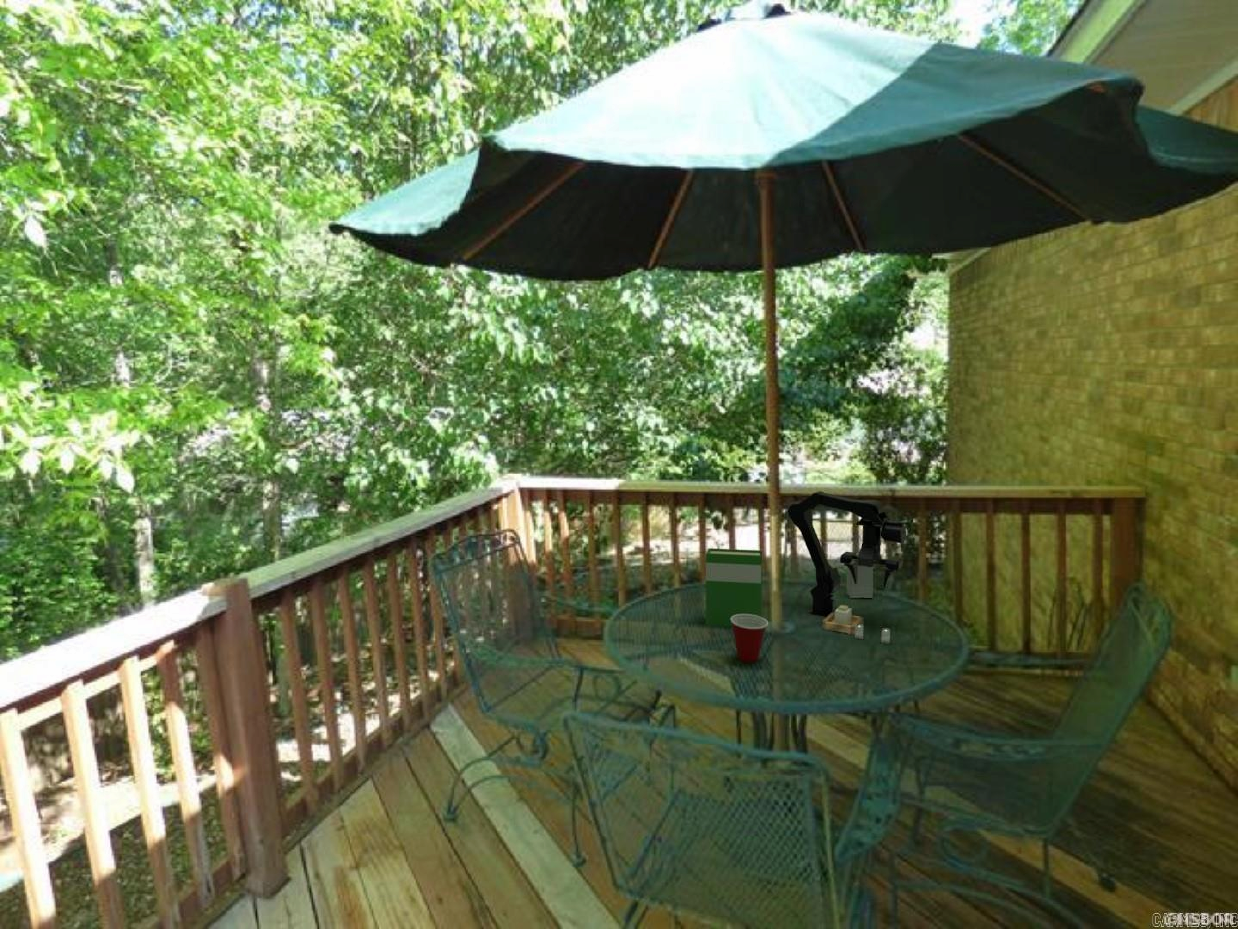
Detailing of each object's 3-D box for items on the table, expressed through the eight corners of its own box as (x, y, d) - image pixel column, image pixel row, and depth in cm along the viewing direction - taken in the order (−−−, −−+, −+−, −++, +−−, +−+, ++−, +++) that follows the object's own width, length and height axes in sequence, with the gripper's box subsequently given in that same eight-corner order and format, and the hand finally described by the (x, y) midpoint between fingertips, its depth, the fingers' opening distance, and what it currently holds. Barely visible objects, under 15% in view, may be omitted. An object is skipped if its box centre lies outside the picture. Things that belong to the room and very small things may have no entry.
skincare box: (868, 594, 281) (870, 552, 279) (873, 600, 274) (874, 557, 272) (845, 593, 281) (846, 551, 279) (849, 599, 274) (850, 556, 272)
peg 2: (880, 642, 232) (881, 630, 231) (882, 640, 234) (882, 627, 233) (888, 644, 231) (889, 631, 230) (890, 641, 233) (891, 629, 232)
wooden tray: (821, 629, 244) (821, 622, 244) (832, 619, 254) (832, 612, 253) (854, 635, 238) (854, 627, 238) (863, 624, 248) (864, 617, 248)
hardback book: (761, 621, 253) (762, 550, 250) (760, 628, 246) (761, 556, 243) (708, 617, 257) (708, 548, 254) (705, 625, 249) (706, 553, 246)
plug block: (834, 625, 245) (834, 607, 244) (838, 621, 249) (839, 603, 248) (846, 628, 243) (847, 609, 242) (851, 623, 247) (851, 605, 246)
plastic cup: (759, 669, 213) (760, 628, 211) (723, 661, 218) (724, 621, 217) (773, 656, 222) (774, 617, 220) (738, 649, 228) (739, 611, 226)
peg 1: (854, 638, 236) (854, 625, 236) (856, 635, 238) (856, 623, 238) (861, 639, 235) (862, 627, 234) (863, 637, 237) (864, 624, 236)
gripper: (835, 541, 246) (834, 588, 248) (895, 548, 236) (893, 596, 238) (845, 534, 255) (844, 579, 257) (903, 540, 245) (902, 588, 247)
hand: (870, 586), depth 249 cm, fingers open, 9 cm apart
